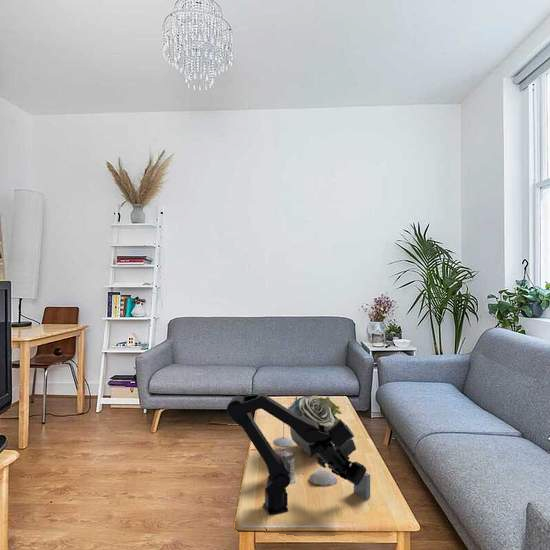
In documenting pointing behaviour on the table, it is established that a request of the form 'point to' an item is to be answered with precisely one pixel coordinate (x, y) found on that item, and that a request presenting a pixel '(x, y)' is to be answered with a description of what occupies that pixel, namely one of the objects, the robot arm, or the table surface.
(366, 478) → the glazed tile
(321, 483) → the seashell
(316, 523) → the table surface
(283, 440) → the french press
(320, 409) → the flower arrangement
